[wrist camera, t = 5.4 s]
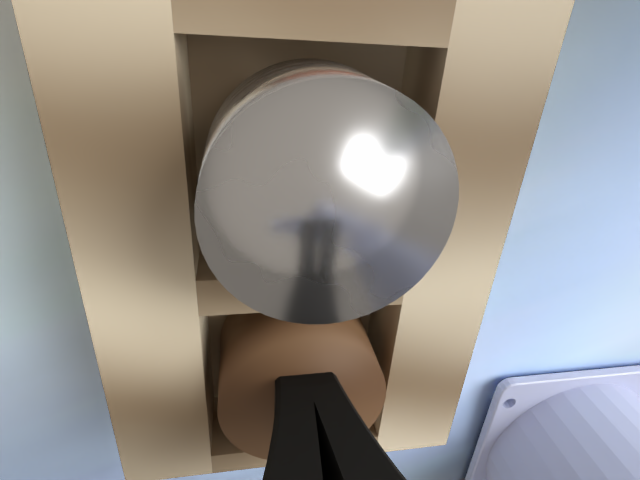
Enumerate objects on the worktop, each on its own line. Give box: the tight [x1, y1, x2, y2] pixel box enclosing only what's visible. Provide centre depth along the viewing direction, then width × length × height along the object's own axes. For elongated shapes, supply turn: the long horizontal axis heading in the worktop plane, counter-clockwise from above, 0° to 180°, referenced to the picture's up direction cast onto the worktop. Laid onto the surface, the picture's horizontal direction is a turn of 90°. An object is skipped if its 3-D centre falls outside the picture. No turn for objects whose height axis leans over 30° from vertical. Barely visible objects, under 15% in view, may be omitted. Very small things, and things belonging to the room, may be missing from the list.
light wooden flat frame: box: [11, 0, 575, 480], centre depth 10 cm, size 17×9×3 cm, turn 176°
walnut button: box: [217, 313, 386, 460], centre depth 11 cm, size 4×4×2 cm
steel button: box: [194, 58, 459, 324], centre depth 8 cm, size 4×4×2 cm
